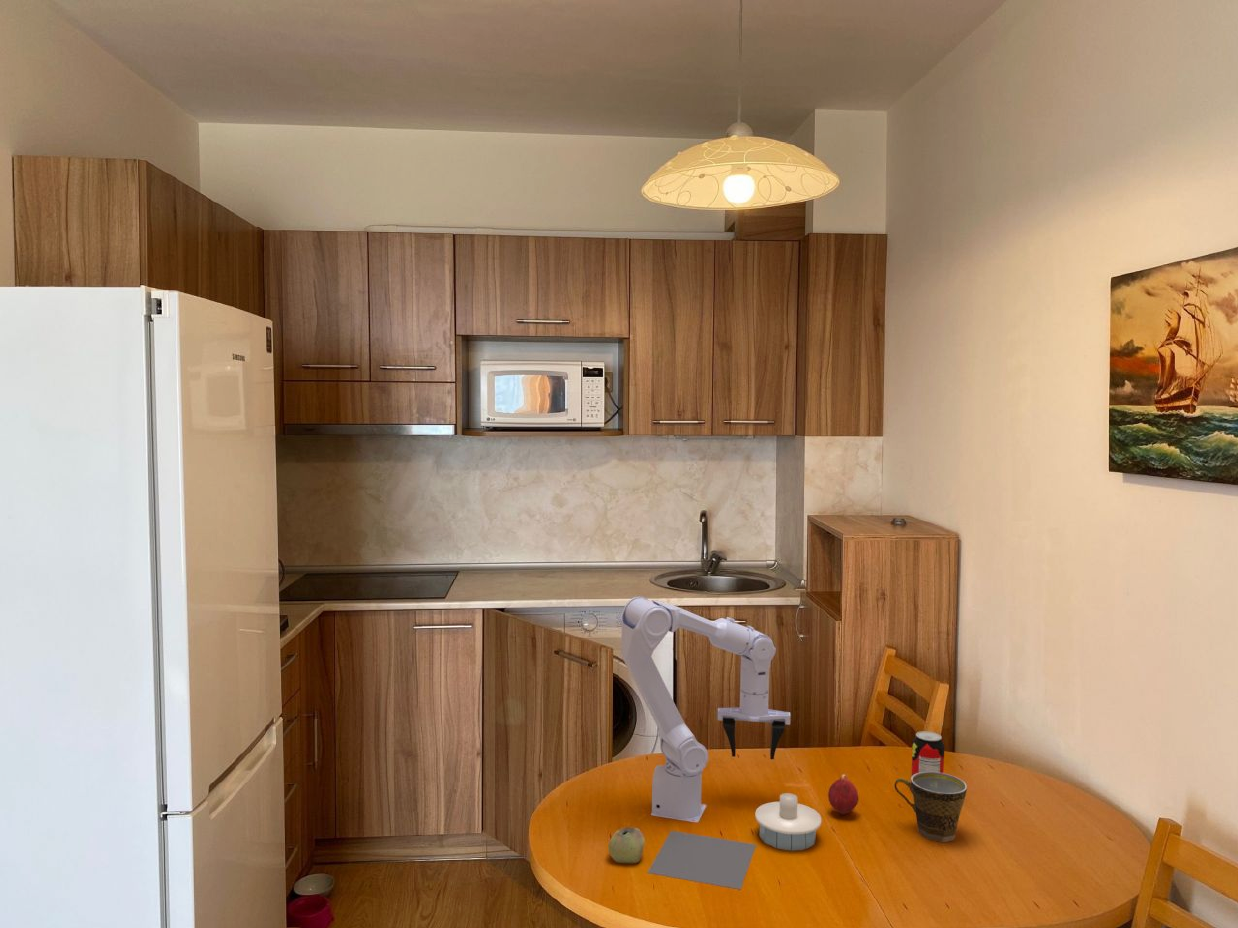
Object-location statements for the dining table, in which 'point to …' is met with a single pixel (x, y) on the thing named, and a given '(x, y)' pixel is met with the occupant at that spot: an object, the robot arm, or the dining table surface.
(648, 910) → the dining table surface
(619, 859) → the apple
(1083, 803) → the dining table surface
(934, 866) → the dining table surface
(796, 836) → the bowl
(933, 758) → the beverage can
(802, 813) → the lid
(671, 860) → the mat
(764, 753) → the dining table surface
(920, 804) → the ceramic cup
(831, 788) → the onion
